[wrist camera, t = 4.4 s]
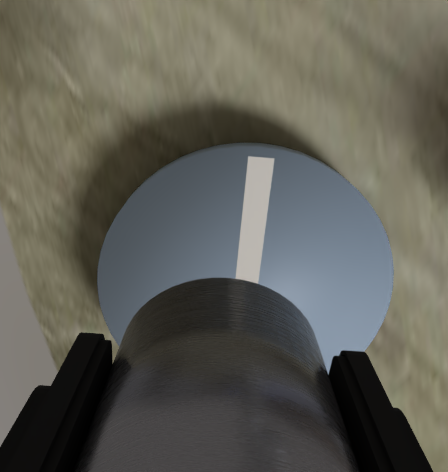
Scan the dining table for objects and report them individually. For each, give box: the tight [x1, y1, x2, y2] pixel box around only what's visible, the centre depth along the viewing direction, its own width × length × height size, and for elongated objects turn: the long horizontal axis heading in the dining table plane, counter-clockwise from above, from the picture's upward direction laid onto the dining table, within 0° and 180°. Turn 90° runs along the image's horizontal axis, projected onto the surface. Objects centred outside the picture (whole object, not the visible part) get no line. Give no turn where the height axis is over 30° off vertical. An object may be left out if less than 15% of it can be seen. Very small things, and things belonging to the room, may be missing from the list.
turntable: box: [97, 143, 394, 375], centre depth 23 cm, size 18×18×5 cm
